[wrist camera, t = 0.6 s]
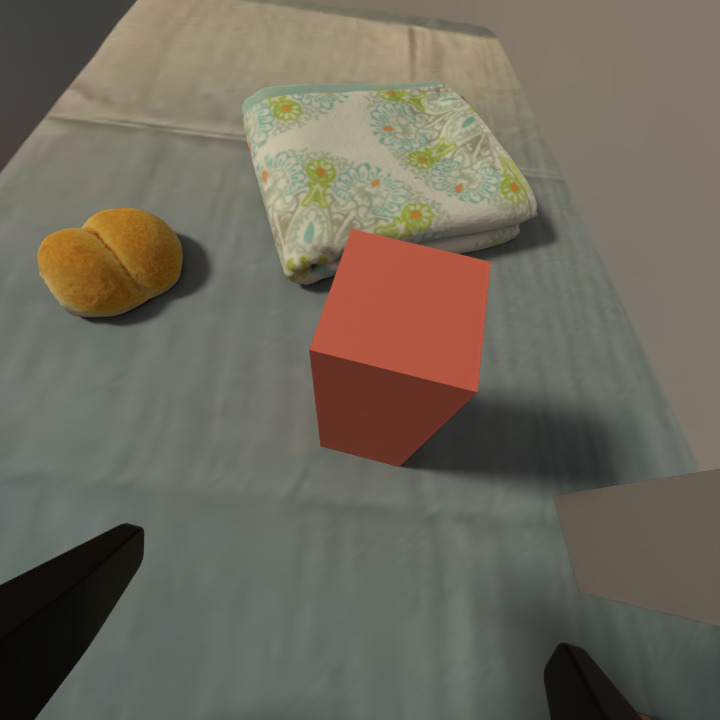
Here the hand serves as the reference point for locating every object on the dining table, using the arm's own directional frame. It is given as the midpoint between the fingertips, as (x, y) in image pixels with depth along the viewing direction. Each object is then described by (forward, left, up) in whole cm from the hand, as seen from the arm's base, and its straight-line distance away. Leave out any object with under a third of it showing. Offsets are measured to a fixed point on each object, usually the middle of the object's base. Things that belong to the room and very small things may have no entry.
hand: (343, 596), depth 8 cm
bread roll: (+23, +10, -14) cm, 28 cm away
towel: (+27, -12, -14) cm, 33 cm away
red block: (+7, -4, -13) cm, 16 cm away
